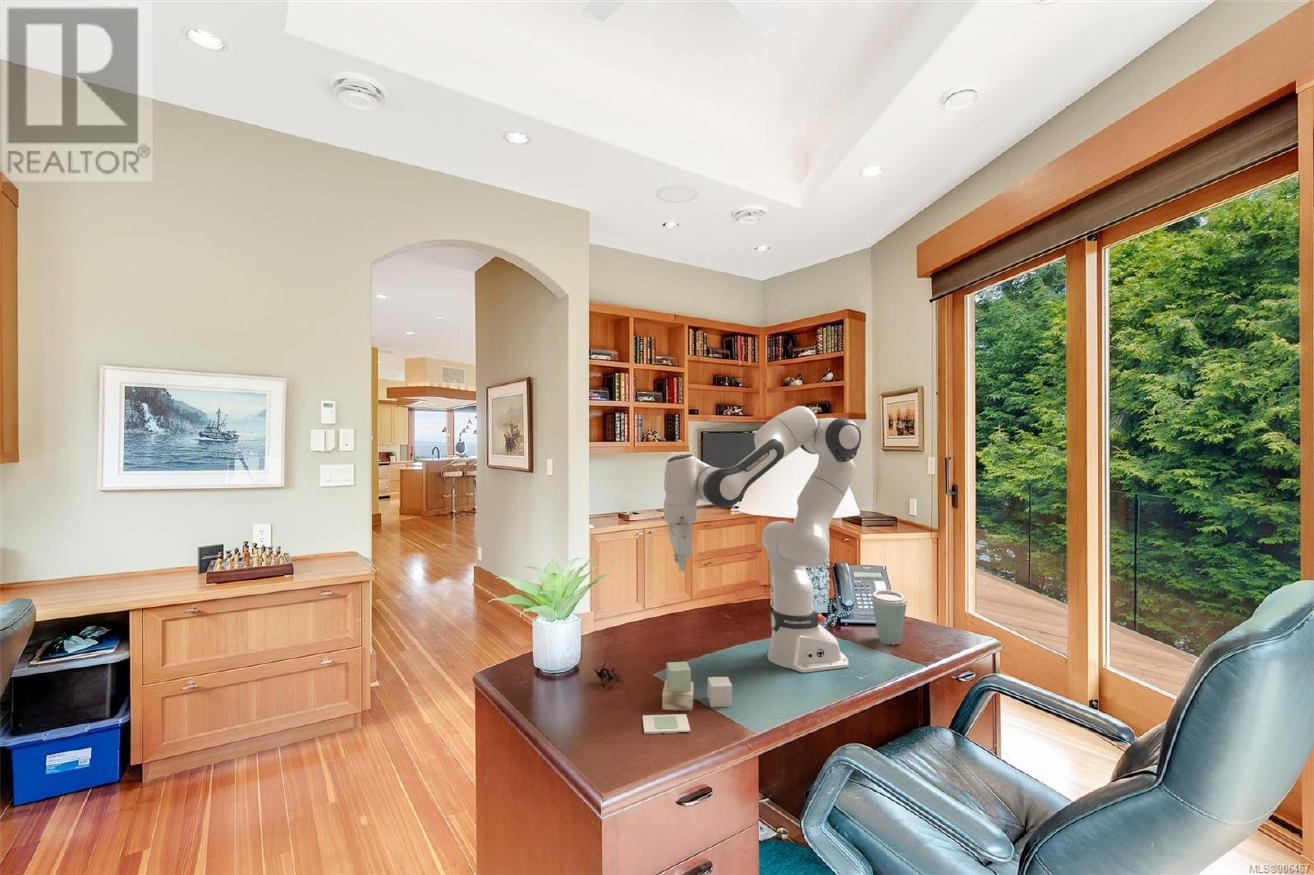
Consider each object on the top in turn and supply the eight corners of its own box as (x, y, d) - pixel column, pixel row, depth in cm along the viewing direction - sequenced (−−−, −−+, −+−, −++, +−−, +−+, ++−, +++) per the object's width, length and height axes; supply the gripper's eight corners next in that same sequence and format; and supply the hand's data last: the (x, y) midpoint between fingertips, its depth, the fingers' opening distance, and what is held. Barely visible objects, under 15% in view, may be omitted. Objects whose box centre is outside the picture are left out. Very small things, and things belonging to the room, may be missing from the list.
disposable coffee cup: (913, 648, 169) (913, 599, 169) (877, 647, 169) (877, 598, 169) (898, 635, 179) (899, 589, 179) (865, 635, 180) (865, 589, 180)
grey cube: (727, 696, 136) (727, 676, 136) (732, 706, 131) (732, 685, 131) (707, 697, 136) (707, 677, 136) (711, 707, 131) (711, 686, 131)
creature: (629, 685, 144) (603, 673, 148) (633, 666, 144) (607, 654, 147) (614, 698, 137) (587, 685, 141) (618, 678, 137) (591, 665, 140)
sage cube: (686, 681, 136) (686, 661, 136) (690, 691, 131) (690, 670, 131) (666, 683, 135) (666, 662, 135) (669, 692, 130) (670, 671, 130)
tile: (686, 716, 126) (686, 713, 126) (690, 732, 119) (690, 730, 119) (642, 717, 126) (642, 715, 126) (644, 734, 119) (644, 731, 119)
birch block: (693, 698, 136) (693, 682, 136) (692, 712, 129) (692, 695, 129) (665, 696, 137) (665, 680, 137) (662, 710, 130) (662, 693, 130)
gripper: (697, 520, 139) (697, 575, 139) (686, 509, 159) (686, 557, 159) (672, 520, 138) (672, 575, 138) (665, 509, 159) (664, 558, 159)
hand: (679, 566), depth 149 cm, fingers open, 8 cm apart
